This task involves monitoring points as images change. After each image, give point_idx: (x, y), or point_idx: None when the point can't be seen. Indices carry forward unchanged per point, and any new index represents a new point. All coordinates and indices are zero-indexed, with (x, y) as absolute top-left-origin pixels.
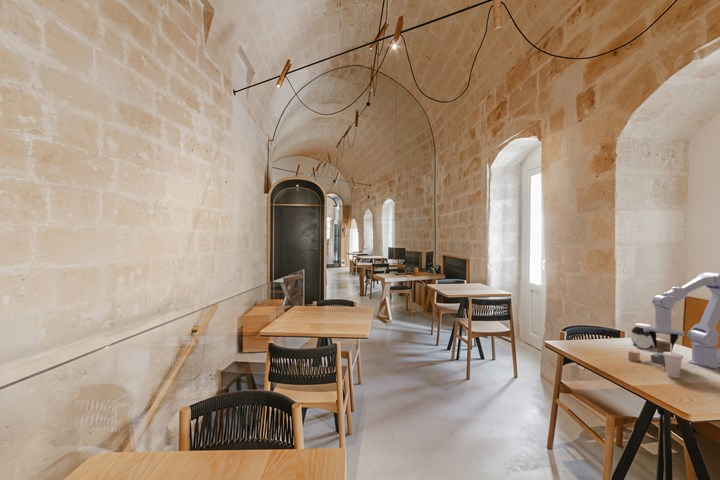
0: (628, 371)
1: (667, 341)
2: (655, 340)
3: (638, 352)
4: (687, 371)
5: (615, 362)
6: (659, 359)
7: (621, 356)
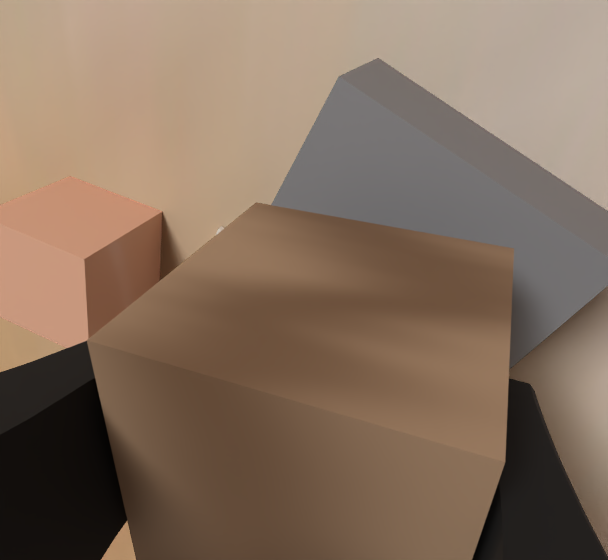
0: (123, 536)
1: (418, 474)
2: (85, 554)
3: (78, 310)
4: (594, 498)
5: None
6: None
7: (5, 170)
